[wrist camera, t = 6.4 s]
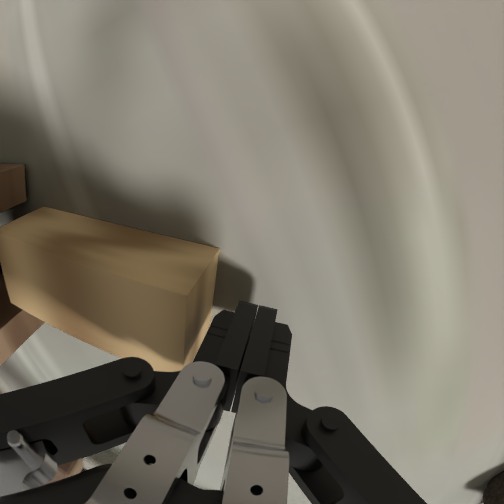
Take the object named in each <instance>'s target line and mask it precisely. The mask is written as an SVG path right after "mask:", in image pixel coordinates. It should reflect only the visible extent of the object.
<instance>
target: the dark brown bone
mask: <svg viewBox="0 0 504 504" xmlns="http://www.w3.org/2000/svg"><path fill="white" fill-rule="evenodd" d="M483 500H484V504H504V471H503V472H501V473H500V474H498V475H496V476H495V477H494V478H493V479H492V480H491V481H490V483H489V484H488V485H487V487H486V489H485V491H484V494H483Z"/></svg>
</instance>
